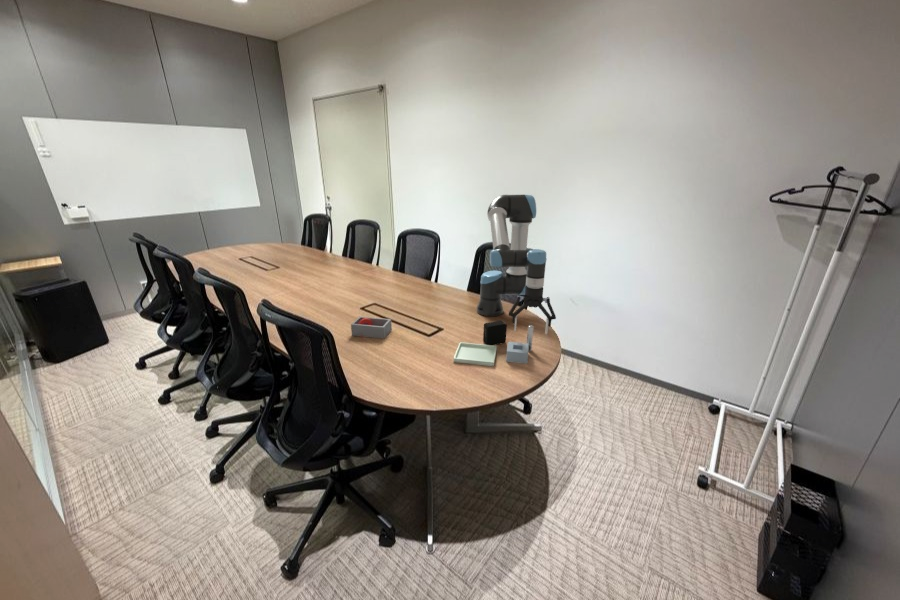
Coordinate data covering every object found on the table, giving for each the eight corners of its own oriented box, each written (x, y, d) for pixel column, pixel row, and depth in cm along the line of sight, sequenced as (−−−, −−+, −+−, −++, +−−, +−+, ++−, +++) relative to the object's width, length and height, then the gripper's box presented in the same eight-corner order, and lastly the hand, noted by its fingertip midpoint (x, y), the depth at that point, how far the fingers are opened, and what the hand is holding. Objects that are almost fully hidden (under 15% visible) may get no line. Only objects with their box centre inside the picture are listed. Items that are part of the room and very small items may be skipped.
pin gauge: (526, 348, 167) (528, 324, 163) (531, 349, 167) (533, 325, 163) (525, 350, 165) (528, 326, 161) (531, 351, 165) (533, 327, 160)
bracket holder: (360, 327, 188) (359, 316, 186) (391, 330, 185) (391, 319, 183) (352, 335, 179) (350, 324, 177) (384, 338, 176) (383, 327, 174)
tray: (459, 345, 170) (459, 342, 169) (496, 349, 167) (496, 345, 166) (453, 361, 156) (453, 358, 155) (493, 366, 153) (493, 362, 152)
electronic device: (482, 342, 173) (483, 323, 169) (501, 339, 176) (502, 320, 173) (486, 346, 169) (487, 326, 166) (505, 342, 173) (507, 323, 169)
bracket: (361, 337, 178) (360, 323, 175) (359, 334, 182) (357, 319, 179) (385, 332, 183) (384, 318, 181) (382, 329, 187) (381, 315, 184)
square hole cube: (507, 351, 165) (507, 341, 163) (527, 353, 163) (528, 343, 161) (506, 361, 156) (506, 351, 155) (527, 363, 155) (528, 353, 153)
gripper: (504, 286, 154) (501, 332, 161) (565, 290, 149) (560, 337, 156) (505, 281, 161) (503, 325, 168) (564, 285, 156) (558, 330, 163)
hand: (530, 331), depth 162 cm, fingers open, 13 cm apart
